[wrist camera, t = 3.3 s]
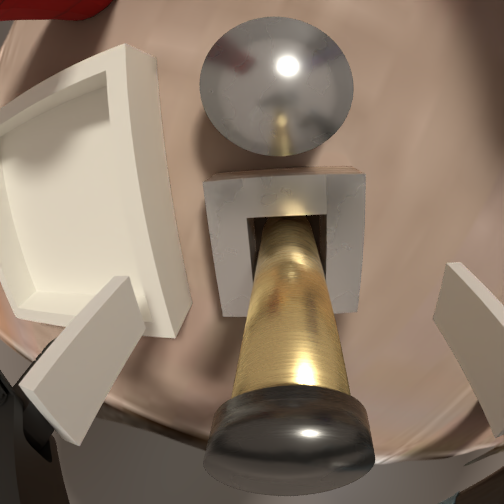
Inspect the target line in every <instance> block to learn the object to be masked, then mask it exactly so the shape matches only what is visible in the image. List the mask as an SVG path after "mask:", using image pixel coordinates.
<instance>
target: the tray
mask: <svg viewBox="0 0 504 504" xmlns="http://www.w3.org/2000/svg"><path fill="white" fill-rule="evenodd" d="M114 276H129V277H130V280H131V284H132V287H133V290H134V294H135V297H136V300H137V303H138V306H139V309H140V312H141V315H142V318H143V321H144V324H145V327H146V330H145V331H144V333H143V335H142V336H150V337H164V338H176V336H177V334H178V332H179V330H180V328H181V326H182V324H183V322H184V319H185V317H186V315H187V313H188V311H189V309H190V307H191V305H192V299H191V295H190V290H189V286H188V281H187V276H186V271H185V267H184V262H183V257H182V252H181V246H180V241H179V236H178V230H177V225H176V219H175V213H174V207H173V201H172V195H171V188H170V182H169V175H168V168H167V160H166V153H165V145H164V137H163V128H162V119H161V109H160V98H159V87H158V74H157V59H156V57H154V56H152V55H150V54H148V53H146V52H144V51H141V50H139V49H137V48H135V47H133V46H130V45H128V44H126V43H124V44H122V45H119V46H116V47H114V48H111V49H108V50H106V51H104V52H101V53H99V54H96V55H94V56H92V57H89V58H87V59H85V60H83V61H81V62H79V63H76V64H74V65H72V66H70V67H68V68H66V69H64V70H62V71H60V72H59V73H57V74H55V75H53V76H51V77H49V78H48V79H46V80H44V81H42V82H40V83H39V84H37V85H35V86H34V87H32V88H30V89H29V90H27V91H26V92H24V93H23V94H21V95H19V96H18V97H16V98H15V99H13V100H12V101H10V102H9V103H8V104H6V105H5V106H3V107H2V108H1V109H0V282H1V284H2V287H3V289H4V291H5V294H6V296H7V299H8V301H9V303H10V305H11V308H12V310H13V312H14V314H15V316H16V318H19V319H24V320H29V321H35V322H40V323H46V324H51V325H57V326H64V327H67V326H68V325H69V323H70V322H71V321H72V320H73V319H74V318H75V317H76V316H77V315H78V314H79V312H80V311H81V310H82V309H83V308H84V307H85V306H86V305H87V304H88V303H89V302H90V301H91V300H92V299H93V298H94V296H95V295H96V294H97V293H98V292H99V291H100V290H101V289H102V288H103V287H104V286H105V285H106V284H107V283H108V282H109V281H110V280H111V279H112V278H113V277H114Z"/></svg>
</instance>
